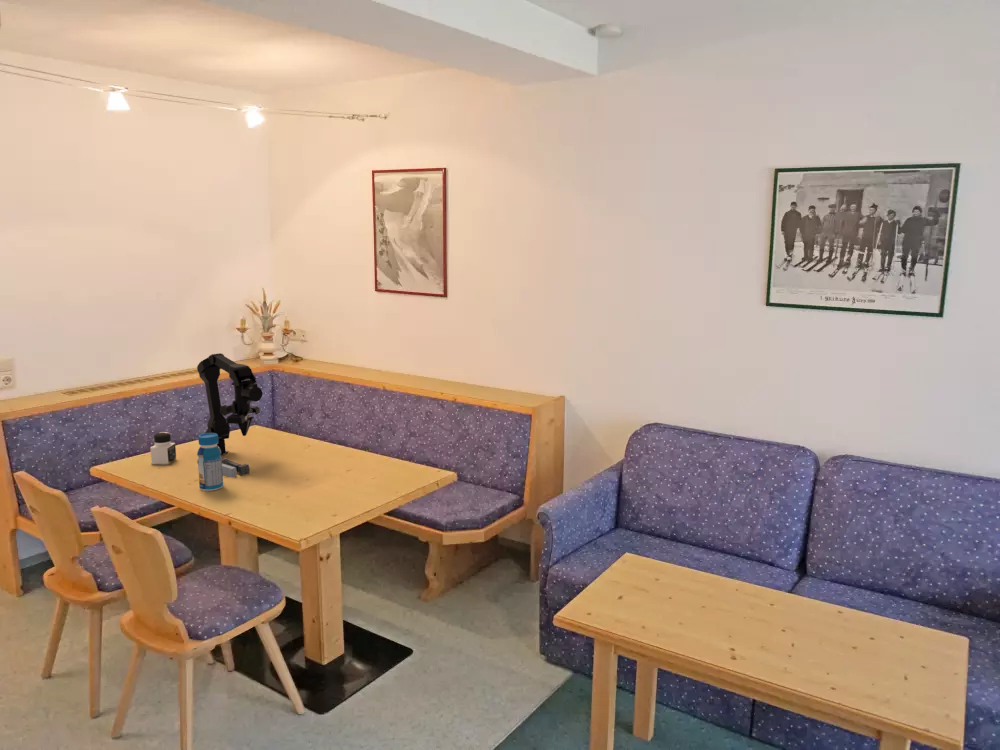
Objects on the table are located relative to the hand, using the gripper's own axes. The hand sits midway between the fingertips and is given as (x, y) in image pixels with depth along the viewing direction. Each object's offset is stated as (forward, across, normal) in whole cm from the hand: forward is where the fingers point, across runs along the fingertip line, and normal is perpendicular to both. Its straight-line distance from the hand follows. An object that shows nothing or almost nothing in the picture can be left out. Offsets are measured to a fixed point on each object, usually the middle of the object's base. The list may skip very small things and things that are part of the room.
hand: (244, 435), depth 307 cm
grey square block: (+12, +12, +4) cm, 17 cm away
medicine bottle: (+12, 0, -34) cm, 36 cm away
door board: (+12, +11, -6) cm, 17 cm away
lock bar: (+11, +8, -3) cm, 14 cm away
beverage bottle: (+12, +29, -1) cm, 31 cm away
